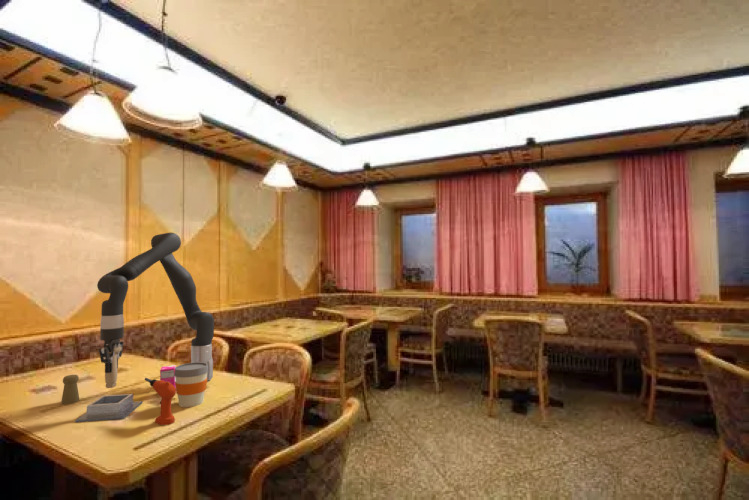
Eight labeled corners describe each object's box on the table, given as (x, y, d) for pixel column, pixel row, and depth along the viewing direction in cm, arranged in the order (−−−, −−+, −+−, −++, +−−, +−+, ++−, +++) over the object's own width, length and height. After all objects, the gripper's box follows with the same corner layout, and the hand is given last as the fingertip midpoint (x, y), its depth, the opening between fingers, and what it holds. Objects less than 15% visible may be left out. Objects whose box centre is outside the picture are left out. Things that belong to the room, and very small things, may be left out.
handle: (122, 386, 147) (123, 347, 147) (102, 390, 142) (103, 350, 142) (118, 383, 150) (119, 345, 150) (99, 387, 145) (100, 348, 146)
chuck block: (142, 403, 155) (142, 391, 155) (123, 418, 139) (123, 405, 139) (99, 406, 152) (99, 394, 152) (75, 422, 136) (75, 409, 136)
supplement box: (161, 392, 168) (161, 366, 168) (176, 390, 170) (176, 364, 171) (159, 396, 163) (159, 369, 163) (175, 394, 165) (175, 367, 165)
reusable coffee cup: (173, 411, 146) (174, 372, 146) (174, 401, 157) (174, 364, 157) (209, 405, 151) (209, 367, 152) (207, 395, 162) (207, 360, 163)
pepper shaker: (83, 400, 159) (83, 373, 160) (67, 405, 153) (67, 377, 154) (73, 398, 161) (73, 372, 162) (57, 403, 155) (57, 376, 156)
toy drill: (149, 407, 146) (152, 369, 145) (177, 423, 136) (181, 383, 136) (136, 412, 141) (139, 372, 141) (164, 429, 132) (167, 386, 131)
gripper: (113, 329, 140) (112, 375, 140) (131, 323, 154) (130, 365, 154) (91, 330, 139) (90, 377, 138) (111, 324, 153) (110, 366, 152)
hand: (111, 370), depth 146 cm, fingers closed on handle, 4 cm apart
